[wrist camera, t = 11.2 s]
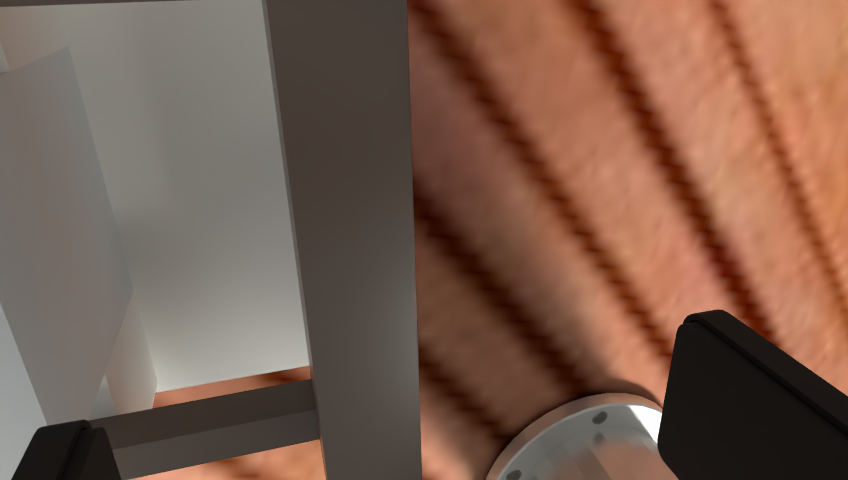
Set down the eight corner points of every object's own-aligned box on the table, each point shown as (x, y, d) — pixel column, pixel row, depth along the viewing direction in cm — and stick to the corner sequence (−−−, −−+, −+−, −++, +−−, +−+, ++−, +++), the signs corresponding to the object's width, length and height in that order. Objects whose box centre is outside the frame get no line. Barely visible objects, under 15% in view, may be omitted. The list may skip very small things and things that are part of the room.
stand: (-14, 406, 23) (-177, 681, 14) (-251, -137, 15) (-940, -280, 6) (375, 340, 26) (439, 524, 18) (346, -126, 19) (434, -207, 10)
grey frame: (-25, 474, 17) (-117, 646, 13) (-282, -55, 11) (-620, -68, 7) (386, 393, 20) (425, 511, 16) (357, -63, 14) (407, -76, 10)
